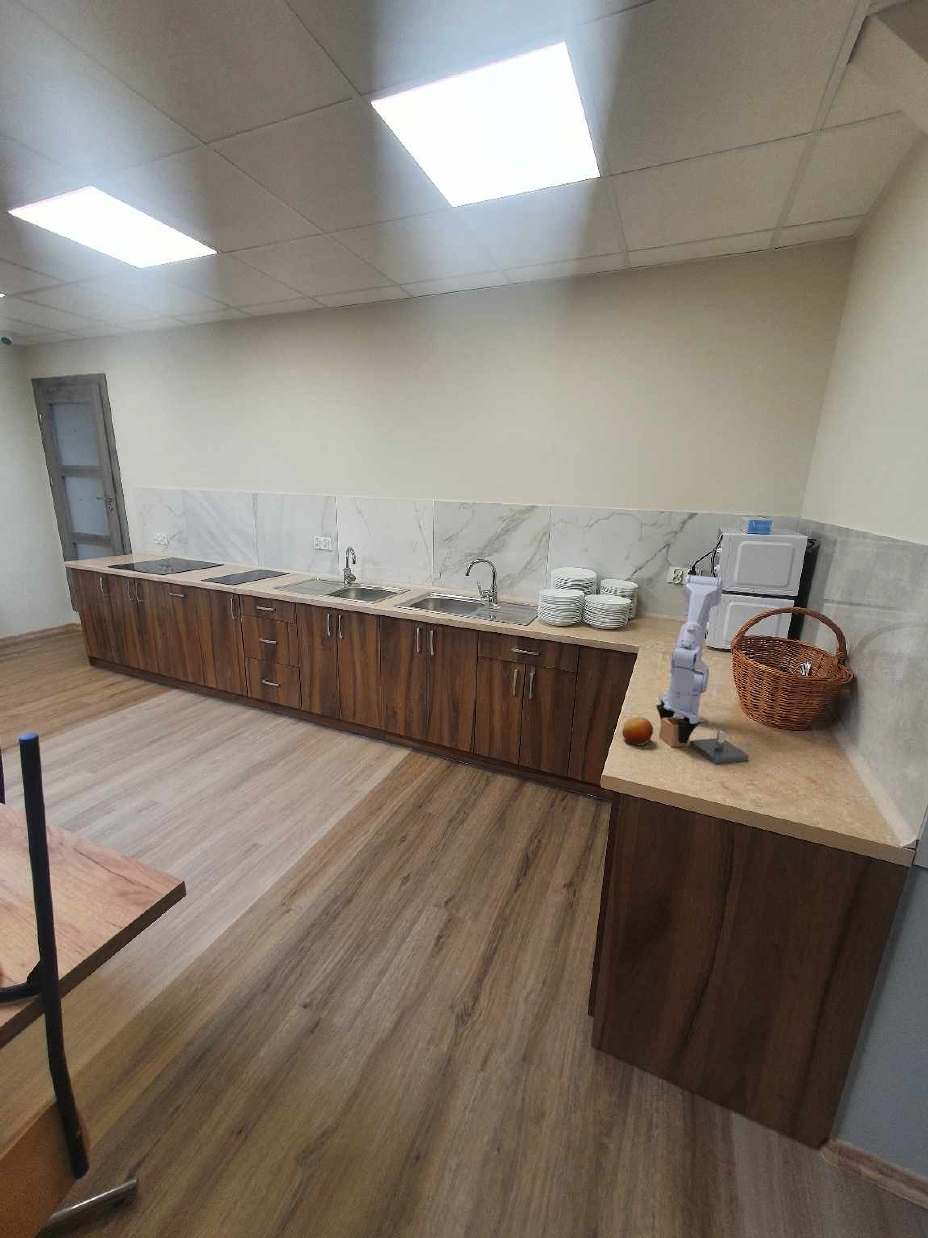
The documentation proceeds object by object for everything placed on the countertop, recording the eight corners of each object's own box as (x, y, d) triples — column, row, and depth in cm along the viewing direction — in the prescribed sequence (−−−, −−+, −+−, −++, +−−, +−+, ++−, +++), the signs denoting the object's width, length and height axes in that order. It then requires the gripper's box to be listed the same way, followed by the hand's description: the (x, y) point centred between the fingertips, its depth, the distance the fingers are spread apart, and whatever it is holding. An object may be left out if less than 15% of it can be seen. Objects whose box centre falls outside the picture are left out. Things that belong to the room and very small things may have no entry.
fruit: (652, 748, 134) (640, 720, 135) (626, 753, 139) (614, 726, 140) (663, 738, 140) (651, 710, 141) (637, 743, 145) (626, 717, 146)
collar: (659, 737, 143) (661, 718, 142) (675, 736, 144) (678, 716, 143) (670, 747, 138) (673, 726, 137) (688, 745, 139) (691, 725, 138)
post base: (689, 745, 139) (692, 723, 138) (720, 742, 141) (724, 721, 140) (715, 764, 130) (718, 741, 128) (748, 760, 132) (752, 737, 130)
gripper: (651, 681, 143) (646, 725, 147) (684, 702, 130) (677, 750, 133) (673, 680, 145) (667, 723, 148) (708, 700, 131) (701, 747, 135)
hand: (674, 736), depth 141 cm, fingers open, 7 cm apart
